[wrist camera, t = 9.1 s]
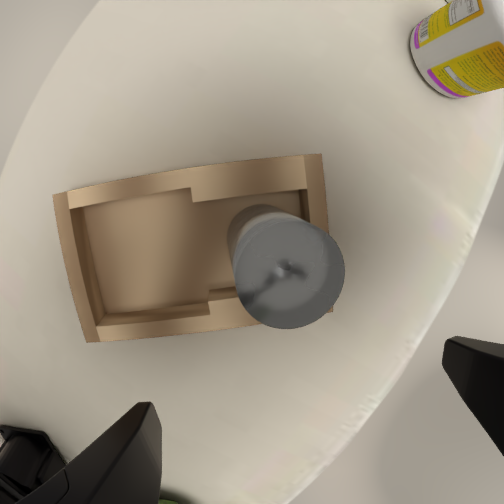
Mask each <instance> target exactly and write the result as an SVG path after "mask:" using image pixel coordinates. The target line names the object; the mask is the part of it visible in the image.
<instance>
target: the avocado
mask: <svg viewBox="0 0 504 504" xmlns="http://www.w3.org/2000/svg"><path fill="white" fill-rule="evenodd" d="M158 504H178V503H177V502H175V501H170V500H164V499H159V503H158Z"/></svg>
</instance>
